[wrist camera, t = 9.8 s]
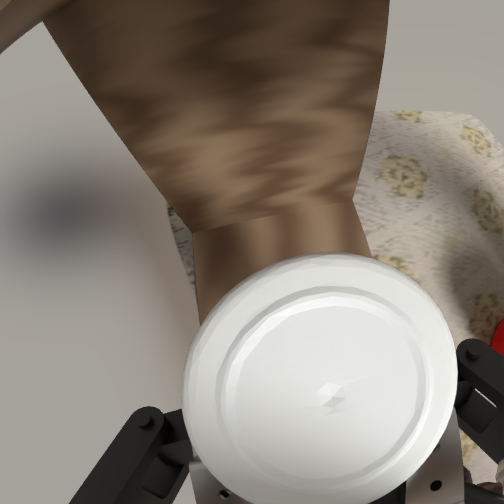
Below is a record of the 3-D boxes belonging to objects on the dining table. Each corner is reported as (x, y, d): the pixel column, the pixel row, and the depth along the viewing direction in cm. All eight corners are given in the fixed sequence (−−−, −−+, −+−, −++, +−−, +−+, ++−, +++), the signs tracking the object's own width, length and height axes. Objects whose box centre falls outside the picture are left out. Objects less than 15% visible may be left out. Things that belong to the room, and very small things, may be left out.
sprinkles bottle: (332, 405, 14) (424, 516, 2) (259, 395, 15) (153, 487, 3) (344, 335, 16) (471, 259, 3) (273, 325, 17) (207, 226, 4)
